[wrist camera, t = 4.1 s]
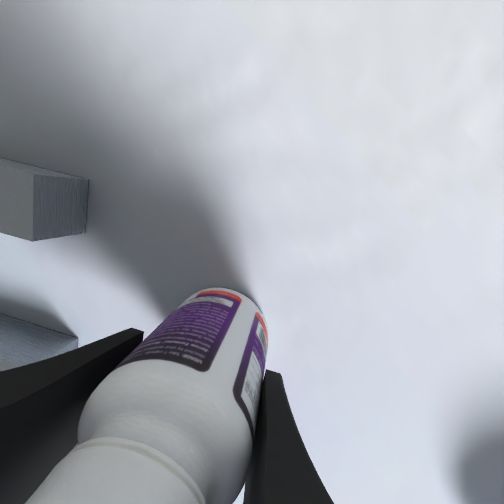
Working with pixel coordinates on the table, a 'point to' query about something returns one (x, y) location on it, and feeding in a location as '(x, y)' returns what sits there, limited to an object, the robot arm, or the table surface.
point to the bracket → (33, 229)
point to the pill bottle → (172, 413)
